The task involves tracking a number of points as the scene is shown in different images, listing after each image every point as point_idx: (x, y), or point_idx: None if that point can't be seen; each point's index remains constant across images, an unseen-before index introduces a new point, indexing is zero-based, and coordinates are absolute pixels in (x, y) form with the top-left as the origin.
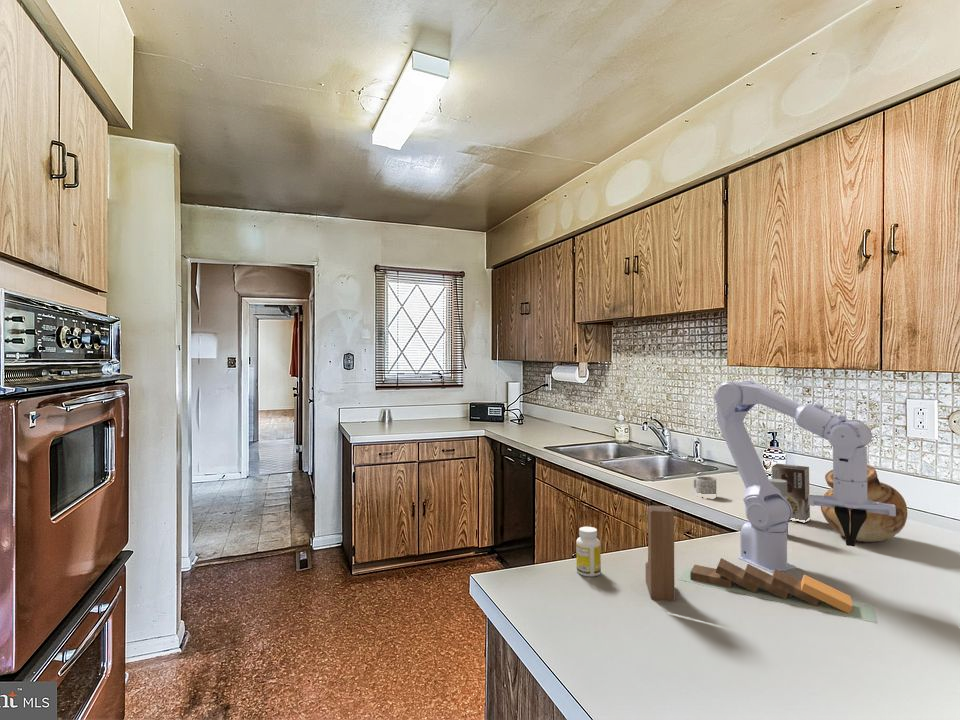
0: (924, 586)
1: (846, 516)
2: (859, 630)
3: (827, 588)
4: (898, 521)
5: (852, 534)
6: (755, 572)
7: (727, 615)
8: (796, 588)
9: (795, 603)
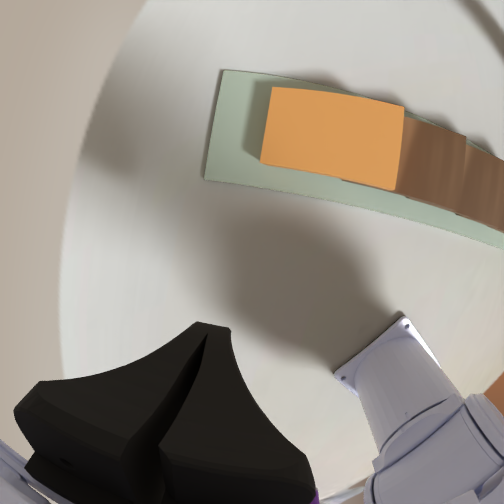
0: (90, 356)
1: (199, 447)
2: (273, 35)
3: (329, 145)
4: None
5: (187, 350)
6: (489, 183)
7: (483, 60)
8: (411, 118)
9: None
